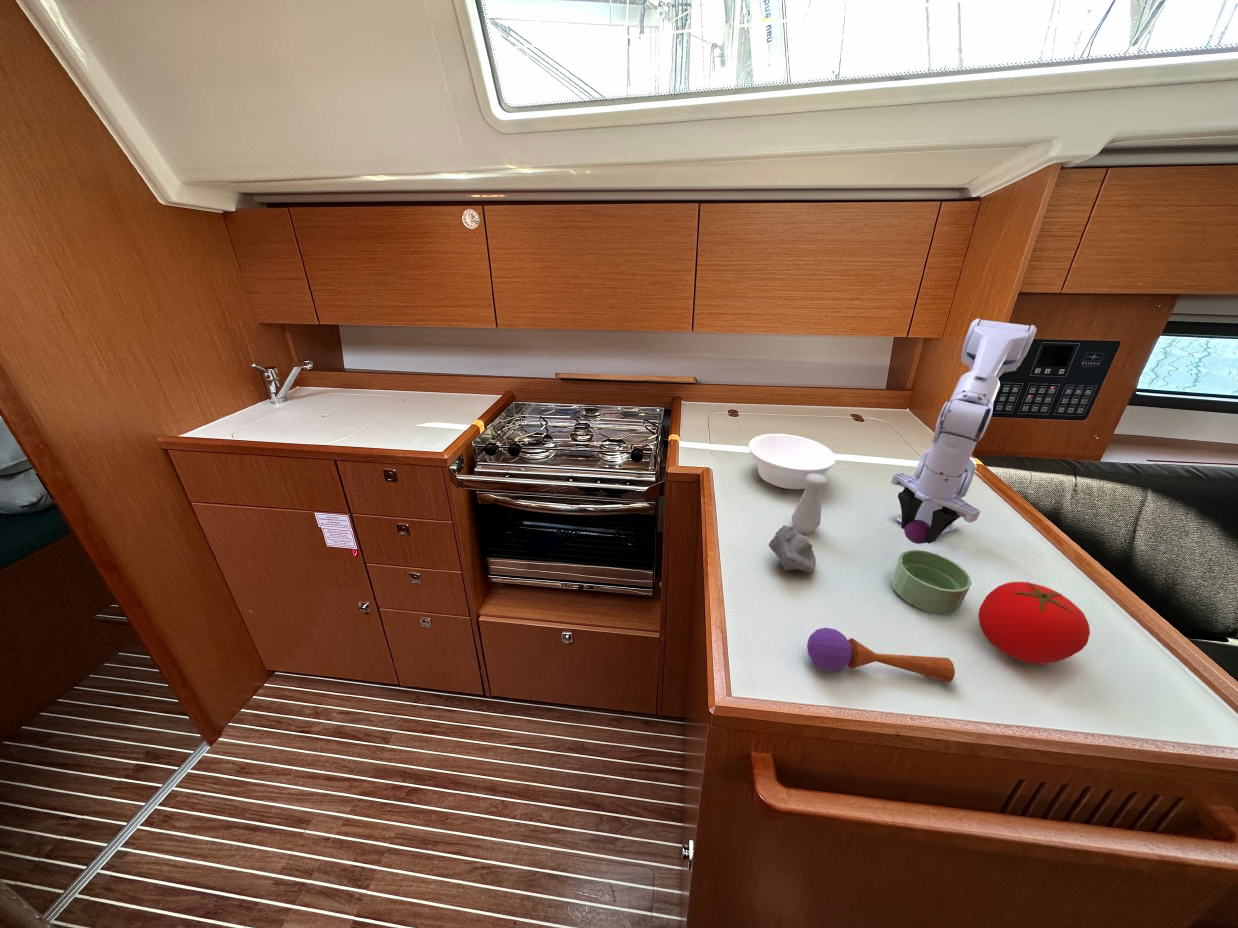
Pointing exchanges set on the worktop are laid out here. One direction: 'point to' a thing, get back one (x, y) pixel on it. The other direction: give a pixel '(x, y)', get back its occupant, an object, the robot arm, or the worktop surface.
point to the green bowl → (930, 581)
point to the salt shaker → (810, 505)
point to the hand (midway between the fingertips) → (917, 534)
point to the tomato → (1033, 623)
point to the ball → (917, 531)
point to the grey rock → (793, 549)
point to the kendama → (870, 656)
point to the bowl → (789, 459)
